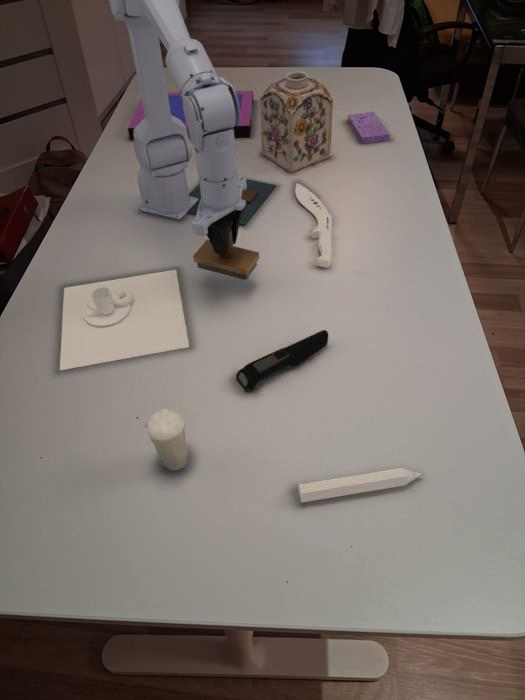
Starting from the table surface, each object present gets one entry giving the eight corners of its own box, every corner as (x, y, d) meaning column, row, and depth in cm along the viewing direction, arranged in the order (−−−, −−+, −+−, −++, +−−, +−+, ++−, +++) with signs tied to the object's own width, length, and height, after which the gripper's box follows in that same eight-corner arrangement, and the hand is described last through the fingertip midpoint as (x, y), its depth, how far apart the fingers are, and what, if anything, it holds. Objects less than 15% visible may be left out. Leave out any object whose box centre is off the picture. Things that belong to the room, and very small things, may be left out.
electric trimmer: (333, 351, 83) (334, 337, 81) (247, 395, 78) (246, 380, 75) (318, 337, 85) (319, 323, 83) (234, 378, 80) (233, 364, 78)
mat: (175, 210, 112) (174, 208, 111) (210, 173, 121) (210, 171, 121) (244, 226, 107) (244, 224, 106) (276, 186, 116) (276, 184, 116)
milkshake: (152, 447, 72) (137, 402, 65) (192, 444, 72) (182, 398, 65) (150, 477, 69) (134, 433, 62) (192, 473, 69) (181, 429, 62)
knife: (295, 179, 117) (331, 179, 116) (295, 186, 118) (331, 186, 117) (288, 260, 96) (332, 261, 95) (288, 268, 97) (331, 268, 96)
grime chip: (232, 200, 112) (232, 197, 112) (241, 191, 115) (240, 187, 114) (250, 204, 111) (250, 201, 111) (258, 194, 114) (257, 191, 113)
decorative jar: (331, 158, 124) (336, 76, 111) (290, 174, 120) (291, 91, 107) (299, 139, 131) (301, 60, 118) (260, 154, 127) (257, 73, 113)
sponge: (373, 118, 137) (374, 111, 136) (389, 140, 129) (390, 133, 127) (346, 121, 137) (347, 114, 135) (361, 144, 128) (362, 136, 127)
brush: (194, 268, 92) (188, 230, 86) (208, 251, 95) (203, 214, 90) (247, 282, 89) (244, 244, 83) (259, 264, 92) (258, 227, 87)
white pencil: (423, 481, 68) (299, 501, 67) (419, 464, 69) (296, 484, 67) (430, 481, 66) (302, 502, 64) (426, 463, 66) (299, 484, 65)
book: (249, 125, 130) (127, 128, 132) (250, 137, 133) (130, 140, 134) (253, 90, 145) (142, 93, 146) (253, 101, 147) (145, 104, 148)
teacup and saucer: (134, 291, 94) (129, 273, 91) (136, 322, 89) (131, 303, 86) (83, 300, 93) (76, 281, 90) (83, 331, 88) (75, 313, 85)
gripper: (219, 202, 74) (227, 279, 84) (262, 154, 82) (264, 229, 92) (174, 193, 76) (187, 269, 86) (221, 146, 85) (228, 220, 94)
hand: (225, 247), depth 89 cm, fingers closed on brush, 2 cm apart
